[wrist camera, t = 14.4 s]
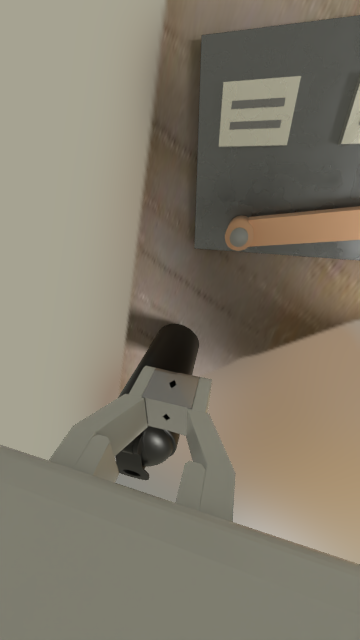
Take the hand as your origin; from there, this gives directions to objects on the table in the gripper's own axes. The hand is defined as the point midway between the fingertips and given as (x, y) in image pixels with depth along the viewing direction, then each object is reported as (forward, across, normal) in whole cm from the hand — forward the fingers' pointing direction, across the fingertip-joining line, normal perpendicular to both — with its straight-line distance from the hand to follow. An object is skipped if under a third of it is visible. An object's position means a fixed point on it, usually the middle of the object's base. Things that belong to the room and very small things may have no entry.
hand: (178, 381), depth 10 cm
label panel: (+27, -7, -8) cm, 29 cm away
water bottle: (+27, +7, +21) cm, 35 cm away
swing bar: (+25, -8, -2) cm, 27 cm away
